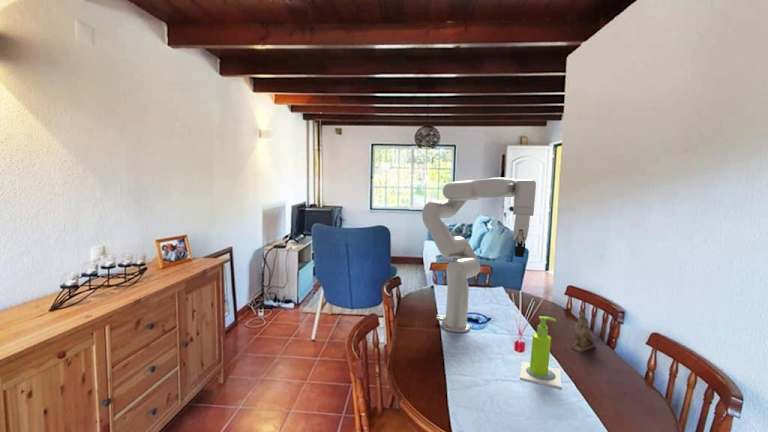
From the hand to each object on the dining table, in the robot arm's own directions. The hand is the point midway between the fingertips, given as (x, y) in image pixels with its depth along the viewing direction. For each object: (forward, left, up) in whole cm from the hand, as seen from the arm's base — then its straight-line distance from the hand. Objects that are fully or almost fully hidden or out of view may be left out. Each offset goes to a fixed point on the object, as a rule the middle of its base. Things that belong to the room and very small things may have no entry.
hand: (519, 254), depth 151 cm
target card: (+11, -18, -38) cm, 44 cm away
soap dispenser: (+11, -18, -38) cm, 43 cm away
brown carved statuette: (+27, +16, -39) cm, 50 cm away
